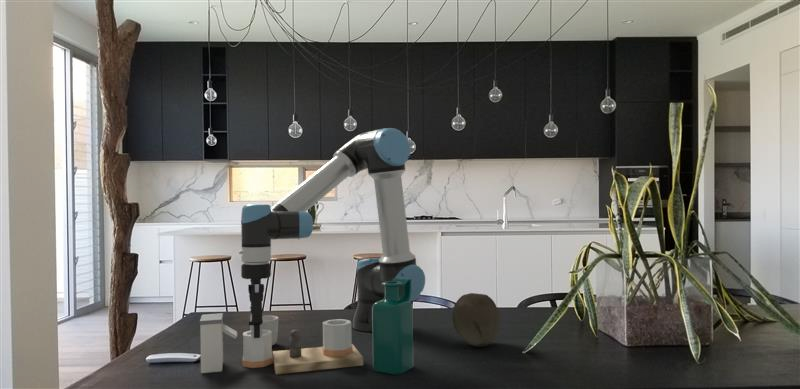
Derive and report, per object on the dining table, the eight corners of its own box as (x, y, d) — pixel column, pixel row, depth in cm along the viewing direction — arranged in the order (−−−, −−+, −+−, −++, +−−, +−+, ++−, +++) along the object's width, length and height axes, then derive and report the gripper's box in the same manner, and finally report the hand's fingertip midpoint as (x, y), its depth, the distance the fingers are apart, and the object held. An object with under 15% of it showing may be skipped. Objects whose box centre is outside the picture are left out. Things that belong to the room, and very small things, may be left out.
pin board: (352, 351, 154) (352, 319, 154) (363, 365, 141) (362, 330, 141) (272, 358, 148) (272, 325, 148) (275, 374, 135) (275, 337, 135)
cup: (267, 352, 155) (267, 323, 155) (241, 351, 157) (241, 322, 157) (283, 342, 166) (283, 315, 166) (258, 341, 167) (258, 315, 167)
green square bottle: (398, 376, 132) (397, 284, 132) (369, 371, 136) (368, 282, 136) (419, 365, 140) (417, 279, 140) (391, 360, 144) (389, 277, 145)
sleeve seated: (348, 347, 151) (348, 318, 151) (354, 354, 144) (353, 324, 144) (321, 350, 149) (320, 320, 149) (325, 357, 141) (324, 326, 142)
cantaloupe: (510, 344, 159) (509, 292, 159) (482, 355, 148) (481, 299, 148) (470, 336, 168) (469, 287, 168) (441, 346, 158) (440, 294, 158)
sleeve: (271, 357, 149) (271, 328, 149) (273, 365, 142) (272, 334, 142) (242, 360, 147) (242, 330, 147) (242, 368, 140) (242, 337, 140)
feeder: (237, 360, 147) (236, 312, 147) (237, 369, 139) (236, 318, 139) (202, 364, 144) (202, 314, 145) (200, 373, 137) (199, 321, 137)
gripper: (241, 258, 156) (241, 334, 155) (241, 268, 132) (241, 357, 131) (268, 258, 158) (268, 332, 157) (273, 267, 134) (273, 355, 133)
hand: (256, 343), depth 144 cm, fingers open, 13 cm apart
